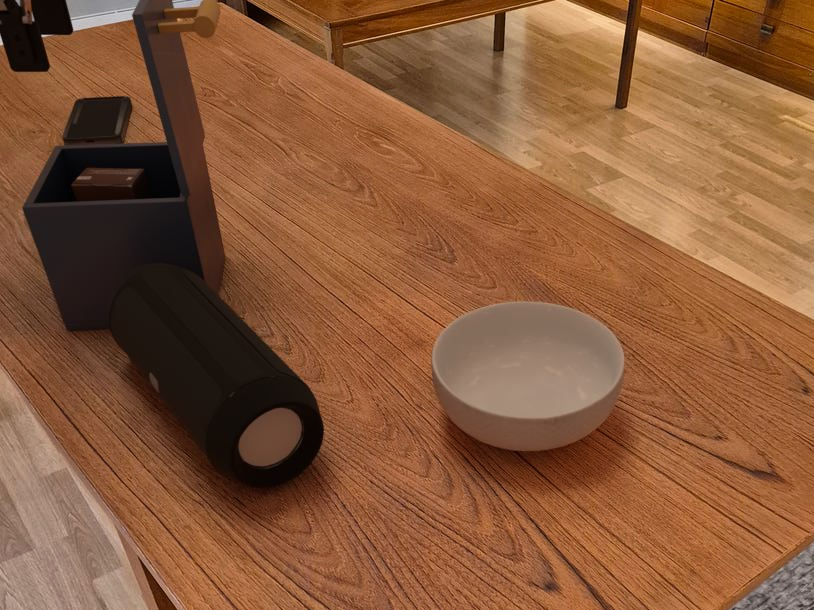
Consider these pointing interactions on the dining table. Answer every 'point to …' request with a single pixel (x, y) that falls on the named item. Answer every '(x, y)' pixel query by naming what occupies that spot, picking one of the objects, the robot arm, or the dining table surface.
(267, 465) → the portable speaker
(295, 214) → the dining table surface
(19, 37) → the robot arm
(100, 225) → the chest
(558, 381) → the cereal bowl
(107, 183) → the box
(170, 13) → the lid
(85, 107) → the phone
